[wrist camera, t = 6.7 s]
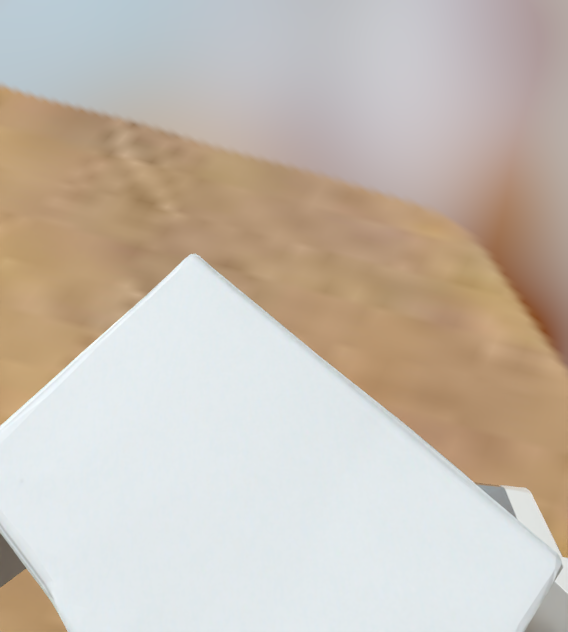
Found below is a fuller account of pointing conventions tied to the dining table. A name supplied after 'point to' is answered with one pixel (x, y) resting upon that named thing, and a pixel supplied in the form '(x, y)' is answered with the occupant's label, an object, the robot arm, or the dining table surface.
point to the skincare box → (247, 489)
